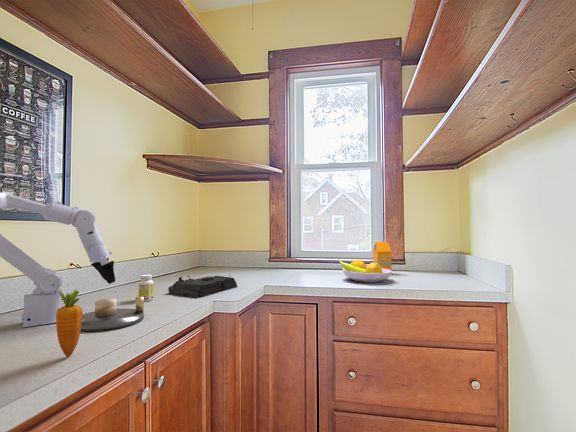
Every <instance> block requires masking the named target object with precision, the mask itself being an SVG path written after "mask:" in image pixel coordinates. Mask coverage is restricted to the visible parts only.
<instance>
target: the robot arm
mask: <svg viewBox="0 0 576 432" xmlns="http://www.w3.org/2000/svg"><path fill="white" fill-rule="evenodd" d="M2 208H13V209H17V210H22V211H26V212H29V213H30V212H32V213H36V214H41V215H42V216H43V218H44V219H45V220H46V221H51V222H55V223H59V224H62V225H63V224H64V225H67V226H68V225H72V226H73V227H74V228H75V229H76V231H77V233H78V237H79V239H80V242H81V244H82V246H83V248H84V250H85V253H86V255H87V257H88V259H89V262H90V265H91V266H92V267H93V268H94V270H96V271H97V272H98V273H99V275H100V276H101V277H102V279H103V280H104V281H105V282H106V283H108V285H111V284H113V283H115V282H116V275H115V270H114V265H115V260H110V261H109V259H110V258H109V257H110V256H111V255H112V254H113V251H108V249H107V247H106V245H105V242H104V240H103V238H102V235H101V233H100V231H99V229H98V227H97V226H96V224H95V221H96V216H95V215H93V213H92V212H91V211H88V210H85V209H83V210H82V209H80V208H79V207H78V206H74V207H73V206H68V205H67V204H66V205H65V204H63V203H62V202H61V201H56V202H54V201H51V202H49V203H46V204H45V203H42V202H38V201H35V200H31V199H28V198H24V197H20V196H17V195H13V194H10V193H6V192H0V209H2ZM0 258H2V259H3V260H4V261H6V262H7V263H8V264H10V265H12V267H14V268H15V269H17V270H18V271H20V273H22V274H24V275H25V276H26V277H27V278H28V279H30V280H31V281H32V282H33V284H34V286H35V288H34V289H33V291H32V293H29V294H24V295H23V313H22V314H21V321H22V322H23V323H22V328H30V327H35V326H36V327H37V326H43V325H48V324H49V325H50V324H56V312H57V310H58V309H59V308H61V307H62V298H61V296H60V295H59V293H61V292H62V288H61V287H62V286H63V285H62V284H63V278H62V276H61V274H60V273H58V272H56V271H55V270H54V269H51V268H47V267H44V266H43V265H41V264H40V263H39V262H38V261H36V260H35V259H34V258H33V257H31V256H30V255H28V254H27V253H26V252H24V251H23V250H22V249H21V248H19V247H18V246H17V245H15V244H14V243H13V242H11V241H10V240H8V238H6V237H5V236H4V235H2V234H1V233H0ZM62 293H63V292H62Z"/></svg>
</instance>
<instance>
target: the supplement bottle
mask: <svg viewBox="0 0 576 432" xmlns="http://www.w3.org/2000/svg"><path fill="white" fill-rule="evenodd" d="M152 276H153V275H152V274H141V275H140V281H139V282H138V297H140V296H143V297H144V302H149V301H152V300H154V295H155V294H154V286H155V285H154V280H152V278H153V277H152Z"/></svg>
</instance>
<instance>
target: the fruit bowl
mask: <svg viewBox="0 0 576 432" xmlns="http://www.w3.org/2000/svg"><path fill="white" fill-rule="evenodd" d="M338 262H339V263H340V265H341V267H343V268H342V271H343V274H344V275H345V277H346V278H349V279H350V280H353V281H354V282H356V281H360V282H359V283H368V282H374V283H378V282H382V281H385V280H387V279H388V278H390V277H391V276H392V273H393V270H392V269H391V270H389V269H383V268H382V267H381V266H380V265H379V264H377V263H373V261H372V262H370V263H369V264H367V265H366V263H365V262H364V261H363V259H354V260H353V261H351V262H350V264H349V263H346V262H343V261H342V260H340V259H339V260H338ZM377 281H378V282H377Z"/></svg>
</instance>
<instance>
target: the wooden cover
mask: <svg viewBox="0 0 576 432" xmlns="http://www.w3.org/2000/svg"><path fill="white" fill-rule="evenodd" d="M116 309H117V299H116V298H104V299H98V300H96V301H95V302H94V311H95V316H109V315H113V314H115V313H116Z"/></svg>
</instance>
